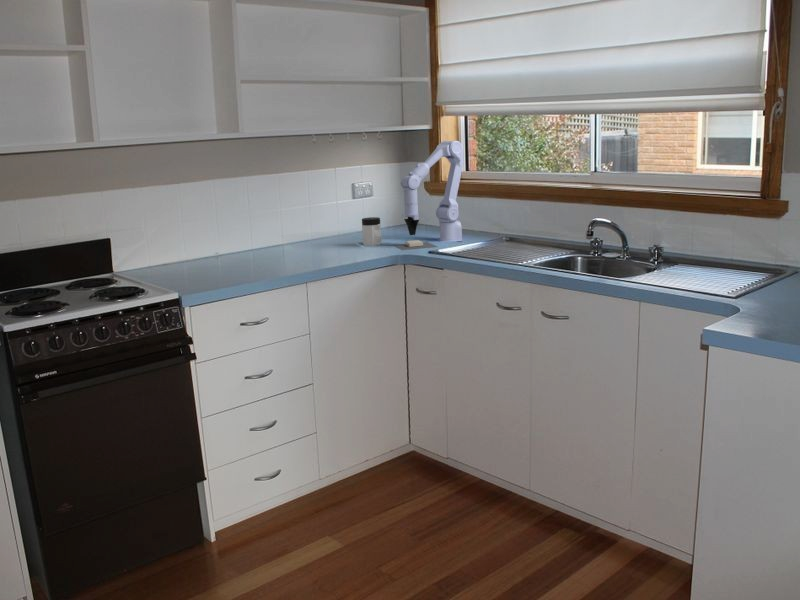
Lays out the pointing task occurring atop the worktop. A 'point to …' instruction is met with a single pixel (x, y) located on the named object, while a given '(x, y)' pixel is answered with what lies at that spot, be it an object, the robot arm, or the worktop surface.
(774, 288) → the worktop surface
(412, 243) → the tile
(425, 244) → the mat
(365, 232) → the jar
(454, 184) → the robot arm
